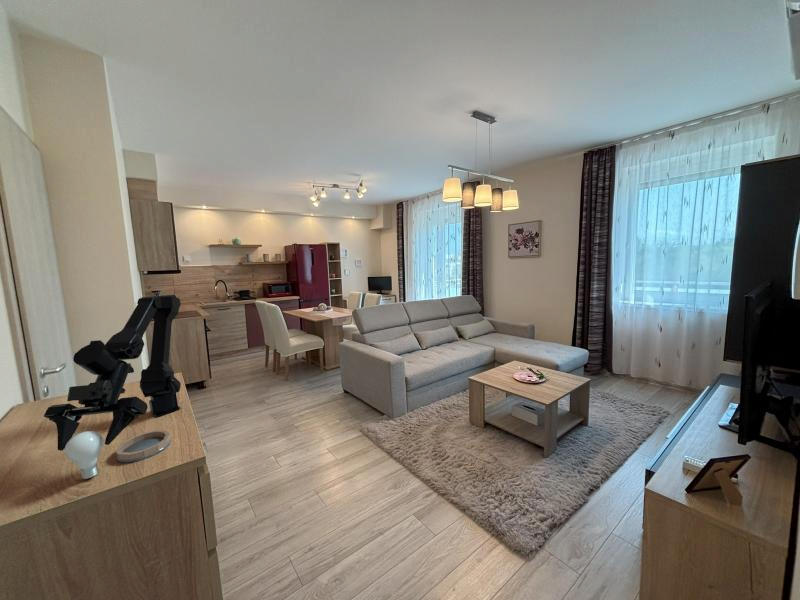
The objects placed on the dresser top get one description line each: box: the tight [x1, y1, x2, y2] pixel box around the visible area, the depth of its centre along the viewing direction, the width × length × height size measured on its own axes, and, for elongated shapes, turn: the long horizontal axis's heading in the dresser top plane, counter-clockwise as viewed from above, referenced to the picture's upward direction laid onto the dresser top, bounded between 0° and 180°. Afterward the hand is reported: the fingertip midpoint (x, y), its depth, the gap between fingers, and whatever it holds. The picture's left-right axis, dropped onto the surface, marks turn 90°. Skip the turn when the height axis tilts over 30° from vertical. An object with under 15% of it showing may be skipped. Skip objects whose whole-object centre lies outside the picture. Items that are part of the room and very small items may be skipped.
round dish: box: [115, 429, 172, 464], centre depth 84 cm, size 11×11×2 cm
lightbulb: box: [63, 430, 105, 480], centre depth 73 cm, size 6×6×11 cm
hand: (83, 447), depth 73 cm, fingers open, 9 cm apart
